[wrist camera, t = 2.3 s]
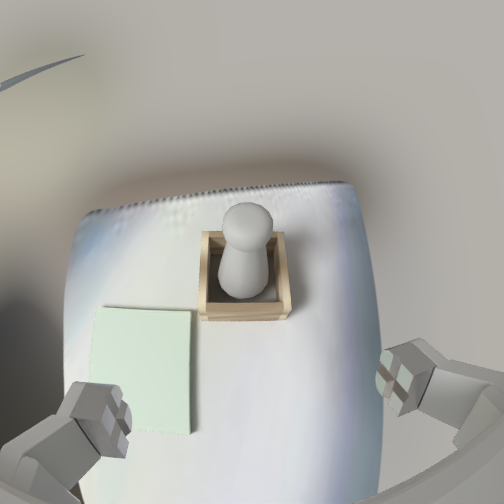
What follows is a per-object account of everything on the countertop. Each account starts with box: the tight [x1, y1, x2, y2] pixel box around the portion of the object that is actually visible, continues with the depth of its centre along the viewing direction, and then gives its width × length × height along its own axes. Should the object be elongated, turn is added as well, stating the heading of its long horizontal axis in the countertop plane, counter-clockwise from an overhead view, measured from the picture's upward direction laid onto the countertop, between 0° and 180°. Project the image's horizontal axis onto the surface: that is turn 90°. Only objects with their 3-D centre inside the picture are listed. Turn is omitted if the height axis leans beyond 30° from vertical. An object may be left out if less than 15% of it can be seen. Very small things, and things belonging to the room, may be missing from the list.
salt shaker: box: [218, 202, 273, 299], centre depth 28 cm, size 6×6×13 cm
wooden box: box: [198, 231, 292, 321], centre depth 32 cm, size 10×10×4 cm
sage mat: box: [88, 307, 192, 435], centre depth 27 cm, size 14×12×1 cm
